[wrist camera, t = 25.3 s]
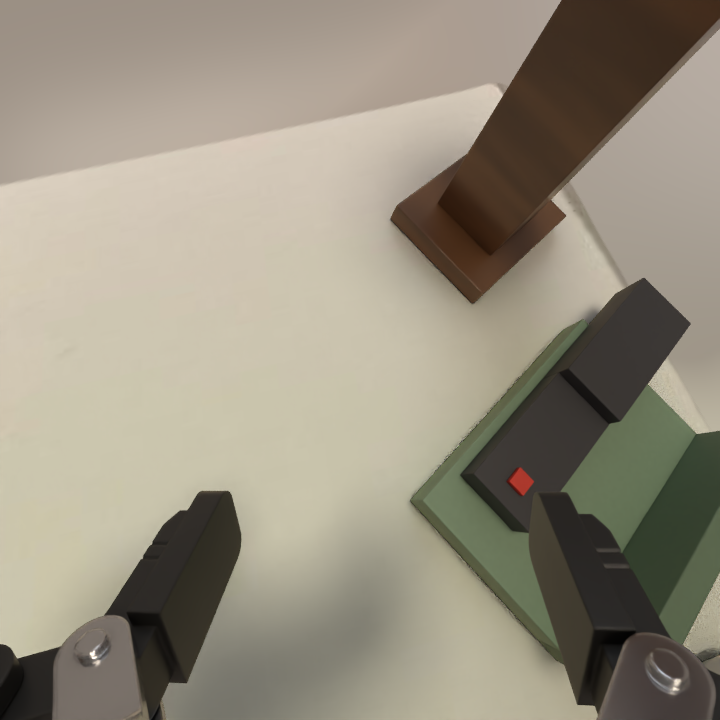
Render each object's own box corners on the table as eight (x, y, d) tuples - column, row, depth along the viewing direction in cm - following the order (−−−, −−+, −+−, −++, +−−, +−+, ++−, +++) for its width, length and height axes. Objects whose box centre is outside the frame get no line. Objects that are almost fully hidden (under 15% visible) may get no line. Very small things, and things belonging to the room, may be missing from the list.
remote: (512, 531, 23) (539, 535, 21) (459, 474, 23) (481, 472, 21) (658, 336, 29) (691, 323, 27) (615, 293, 30) (644, 277, 27)
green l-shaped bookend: (556, 661, 24) (649, 711, 18) (409, 500, 24) (455, 500, 19) (685, 454, 29) (786, 443, 24) (563, 329, 30) (632, 291, 25)
